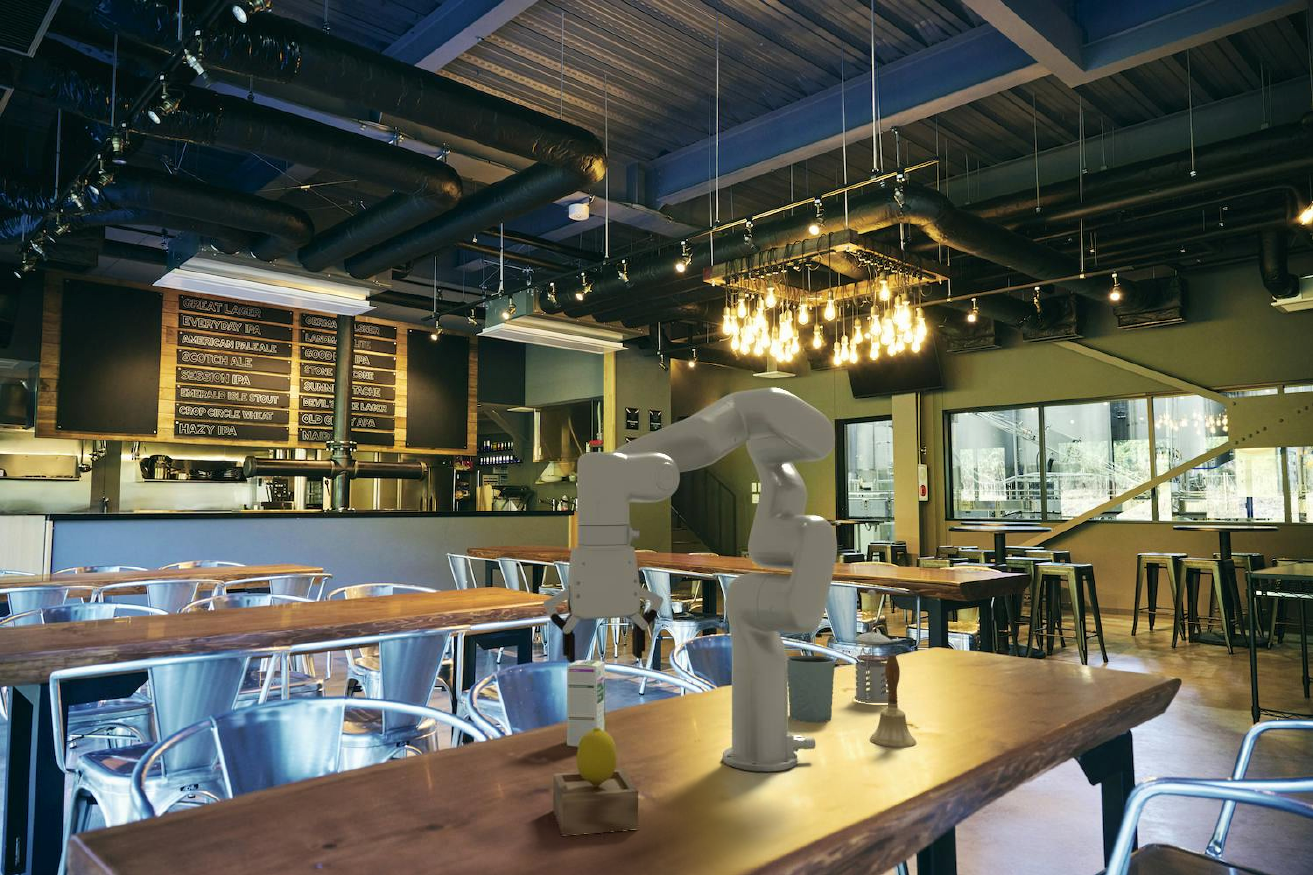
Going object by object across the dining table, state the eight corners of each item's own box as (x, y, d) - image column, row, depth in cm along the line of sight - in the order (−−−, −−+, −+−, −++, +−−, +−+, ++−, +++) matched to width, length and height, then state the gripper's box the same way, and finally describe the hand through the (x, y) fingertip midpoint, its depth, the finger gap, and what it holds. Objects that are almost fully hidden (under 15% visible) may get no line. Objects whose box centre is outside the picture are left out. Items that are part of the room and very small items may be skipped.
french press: (901, 699, 191) (899, 589, 194) (886, 709, 182) (883, 592, 184) (859, 694, 197) (858, 587, 199) (842, 703, 187) (840, 590, 189)
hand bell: (924, 741, 155) (922, 654, 157) (903, 750, 149) (901, 659, 151) (883, 733, 161) (881, 649, 163) (861, 741, 155) (860, 654, 157)
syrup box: (596, 748, 149) (598, 665, 151) (565, 746, 150) (566, 664, 152) (605, 740, 155) (606, 660, 156) (574, 738, 156) (576, 658, 157)
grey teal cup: (781, 720, 171) (780, 660, 172) (792, 709, 180) (791, 653, 182) (830, 724, 167) (830, 663, 168) (839, 714, 177) (838, 656, 178)
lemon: (576, 781, 117) (576, 722, 118) (615, 780, 117) (616, 722, 118) (576, 794, 111) (577, 732, 112) (617, 793, 112) (618, 732, 113)
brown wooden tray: (622, 804, 120) (623, 768, 120) (638, 830, 110) (638, 790, 110) (553, 810, 117) (553, 773, 118) (562, 836, 108) (563, 796, 108)
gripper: (655, 535, 126) (656, 651, 125) (540, 538, 122) (540, 657, 120) (668, 537, 119) (669, 659, 117) (546, 540, 114) (547, 667, 113)
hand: (604, 658), depth 119 cm, fingers open, 9 cm apart
